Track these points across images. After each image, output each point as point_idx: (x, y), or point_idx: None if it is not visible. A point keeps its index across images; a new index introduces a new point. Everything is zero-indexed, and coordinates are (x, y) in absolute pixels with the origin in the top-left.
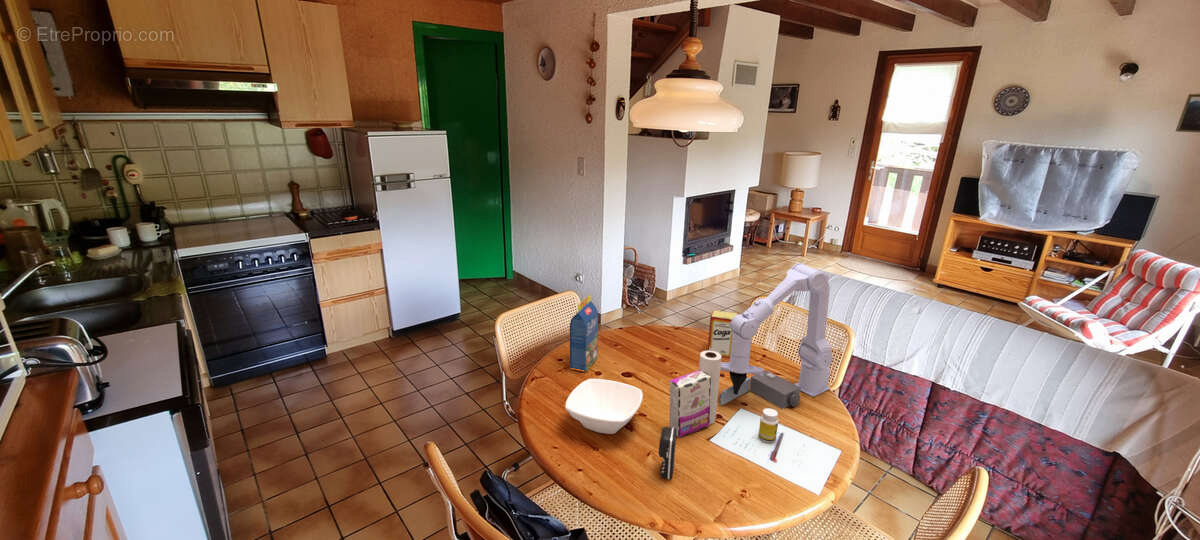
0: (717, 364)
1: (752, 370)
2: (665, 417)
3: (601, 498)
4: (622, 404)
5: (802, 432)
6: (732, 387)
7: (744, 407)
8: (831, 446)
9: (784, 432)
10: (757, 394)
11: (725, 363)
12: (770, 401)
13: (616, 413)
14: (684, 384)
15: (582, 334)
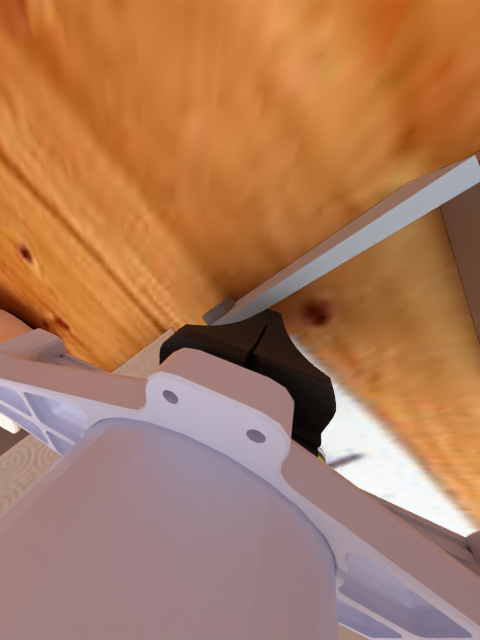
0: None
1: (340, 623)
2: (100, 340)
3: None
4: (3, 328)
5: (434, 475)
6: (252, 314)
7: (305, 335)
8: (474, 529)
9: (369, 456)
10: (450, 239)
11: (55, 385)
12: (475, 319)
13: (23, 322)
14: None
15: None
